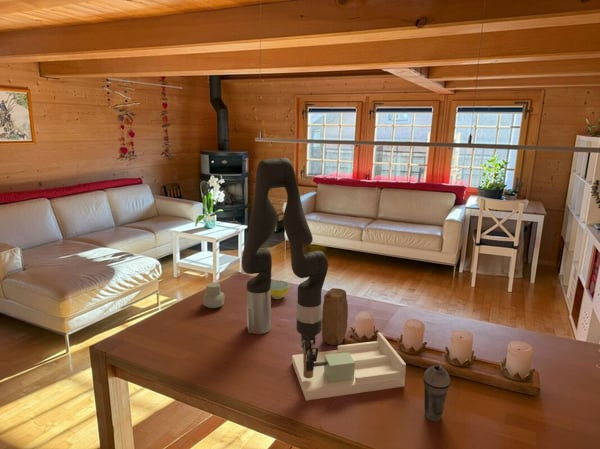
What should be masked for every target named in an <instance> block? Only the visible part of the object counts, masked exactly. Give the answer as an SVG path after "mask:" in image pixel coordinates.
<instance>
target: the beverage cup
mask: <svg viewBox="0 0 600 449" xmlns="http://www.w3.org/2000/svg"><path fill="white" fill-rule="evenodd" d="M444 358H445V353H444V352H442V355H441V360H440V362H439V365H432V366H429V367H428V368H427V369H426V370H425V371H424V375H423V377H422V381H423V386H424V387H423V388H424V390H423V391H424V395H423V396H424V399H423V400H424V404H423V405H424V406H423V407H424V417H425V418H426V419H427V420H429V421H431V422H438V421H440V420H442V416H443V411H444V409H445V408H444V407H445V402H446V399H447V395H448V394H447V393H448V391H449V388H450V386H451V378H450V375H449V373H448V371H447V370H446V369H445V368H444V367H443V366H442V365H443V361H444Z"/></svg>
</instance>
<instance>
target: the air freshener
mask: <svg viewBox="0 0 600 449" xmlns="http://www.w3.org/2000/svg"><path fill="white" fill-rule="evenodd" d="M225 295H226V294H225V293H224V292H222V291H221V284H220V283H219V282H214V281H213V282H210V283H207V285H206V292H205V294H204V295H203V299H202V305H203V306H204V307H206V308H208V309H217V308H220V307H222V306H224V303H225V300H226V299H225V298H226V296H225Z"/></svg>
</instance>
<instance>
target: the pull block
mask: <svg viewBox="0 0 600 449" xmlns="http://www.w3.org/2000/svg"><path fill="white" fill-rule="evenodd" d="M317 366H324V372H325V375H326V377H327V379H328V381H329V383H333V382H340V381H348V380H354V371H355V362H354V360H353V359H352V357H351V355H350V354H349V352H346V353H338V354H329V355H325V357H324V362H316V363H314V367H317ZM303 376H304V377H305V378H312V377H313V371H307V370H306V354H305V352H304V372H303Z"/></svg>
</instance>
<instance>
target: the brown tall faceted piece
mask: <svg viewBox="0 0 600 449" xmlns="http://www.w3.org/2000/svg"><path fill="white" fill-rule="evenodd" d="M348 308H349V306H348V298H347V290H345V289H343V288H335V287H332V288H331V289H329V290H328V291H327V292H326V293H325V294H324V295H323V303H322V328H321V338H322V341H323V343H325V344H327V345H331V346H339V345H342V343H343V342H344V340H343V338H344V339H345V337H346V334H347V330H348V319H349V318H348V317H349V311H348V310H349V309H348ZM342 341H343V342H342Z"/></svg>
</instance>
